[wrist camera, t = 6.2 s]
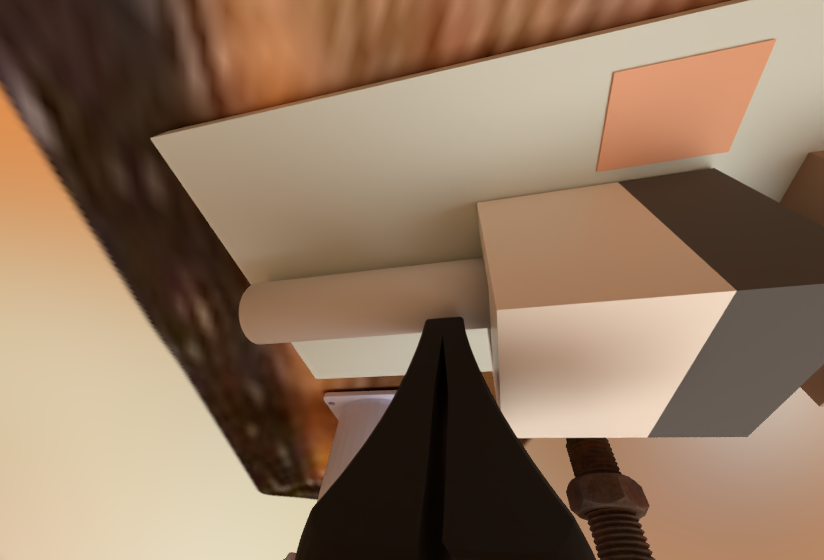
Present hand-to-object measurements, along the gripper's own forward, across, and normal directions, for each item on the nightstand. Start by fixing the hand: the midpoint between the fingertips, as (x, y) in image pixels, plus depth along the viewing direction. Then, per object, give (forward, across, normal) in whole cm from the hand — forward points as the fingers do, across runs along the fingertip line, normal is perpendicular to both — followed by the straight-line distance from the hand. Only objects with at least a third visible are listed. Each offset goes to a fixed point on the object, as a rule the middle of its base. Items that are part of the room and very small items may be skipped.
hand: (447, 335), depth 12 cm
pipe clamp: (+5, -3, 0) cm, 6 cm away
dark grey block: (+4, -8, 0) cm, 9 cm away
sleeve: (+4, -4, 0) cm, 5 cm away
